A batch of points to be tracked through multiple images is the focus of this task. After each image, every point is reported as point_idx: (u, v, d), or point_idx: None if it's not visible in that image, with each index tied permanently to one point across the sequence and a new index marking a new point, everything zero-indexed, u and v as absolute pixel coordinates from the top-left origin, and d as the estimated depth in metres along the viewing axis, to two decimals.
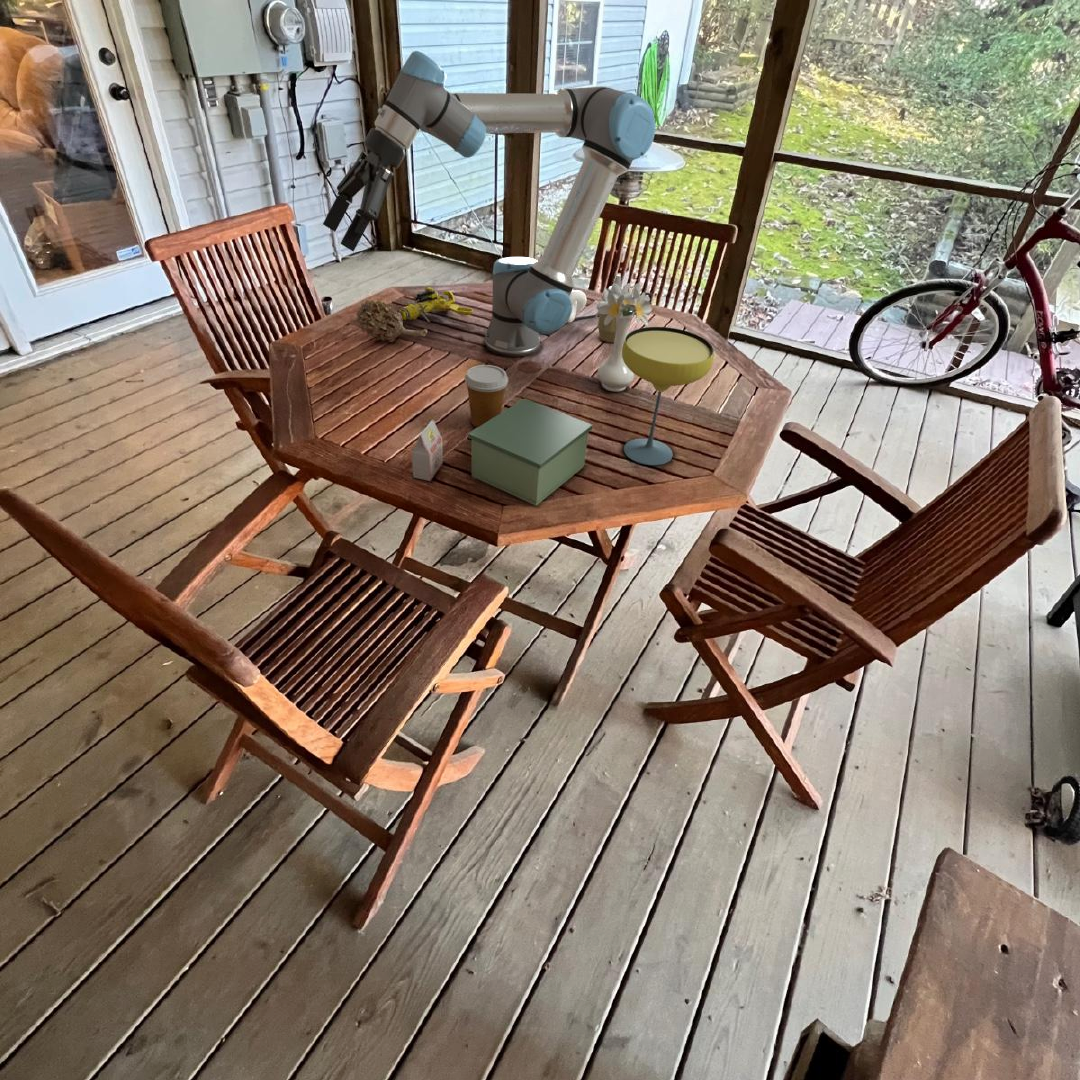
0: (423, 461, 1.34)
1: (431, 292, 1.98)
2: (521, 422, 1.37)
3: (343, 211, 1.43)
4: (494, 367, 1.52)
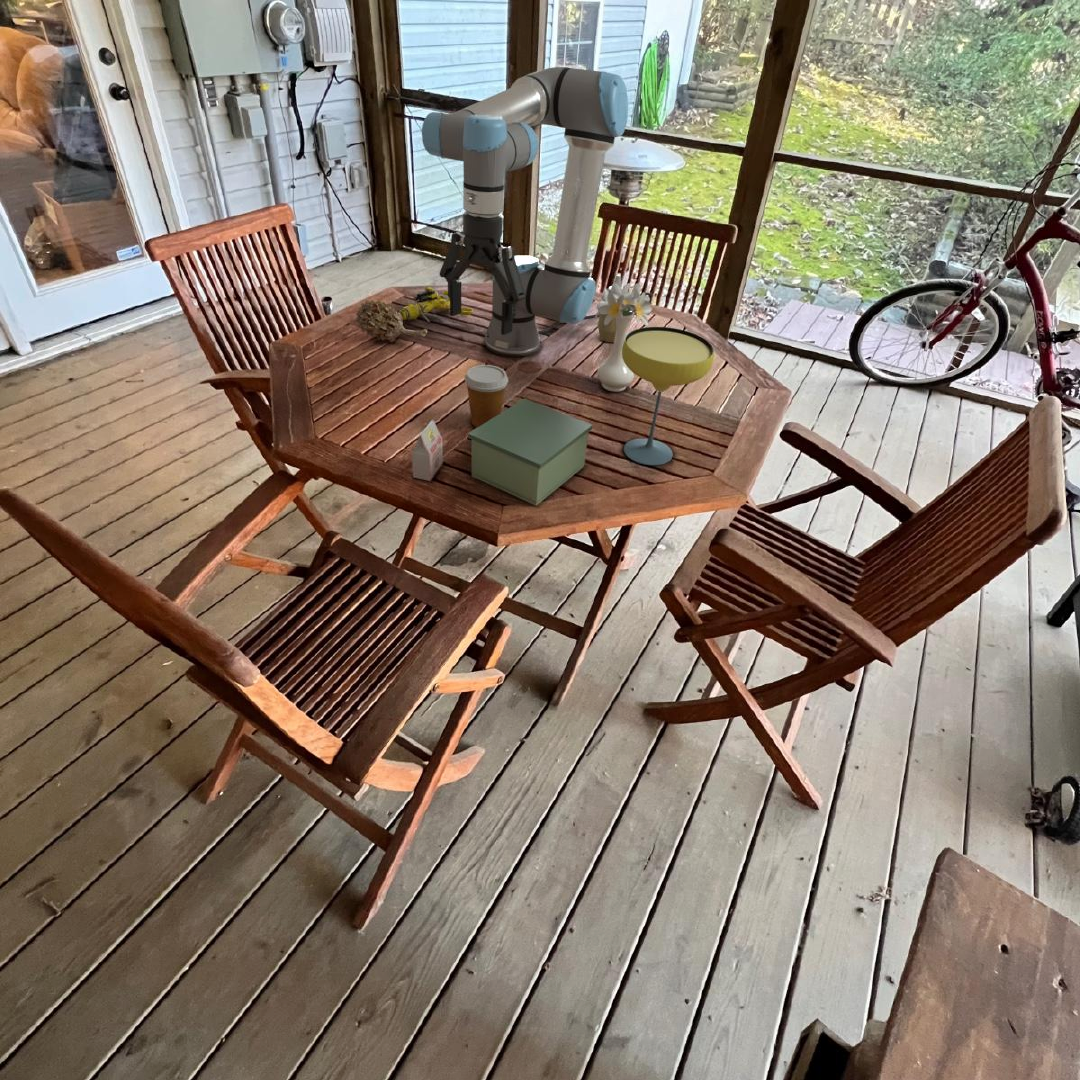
0: (423, 461, 1.34)
1: (431, 292, 1.98)
2: (521, 422, 1.37)
3: (459, 292, 1.42)
4: (494, 367, 1.52)
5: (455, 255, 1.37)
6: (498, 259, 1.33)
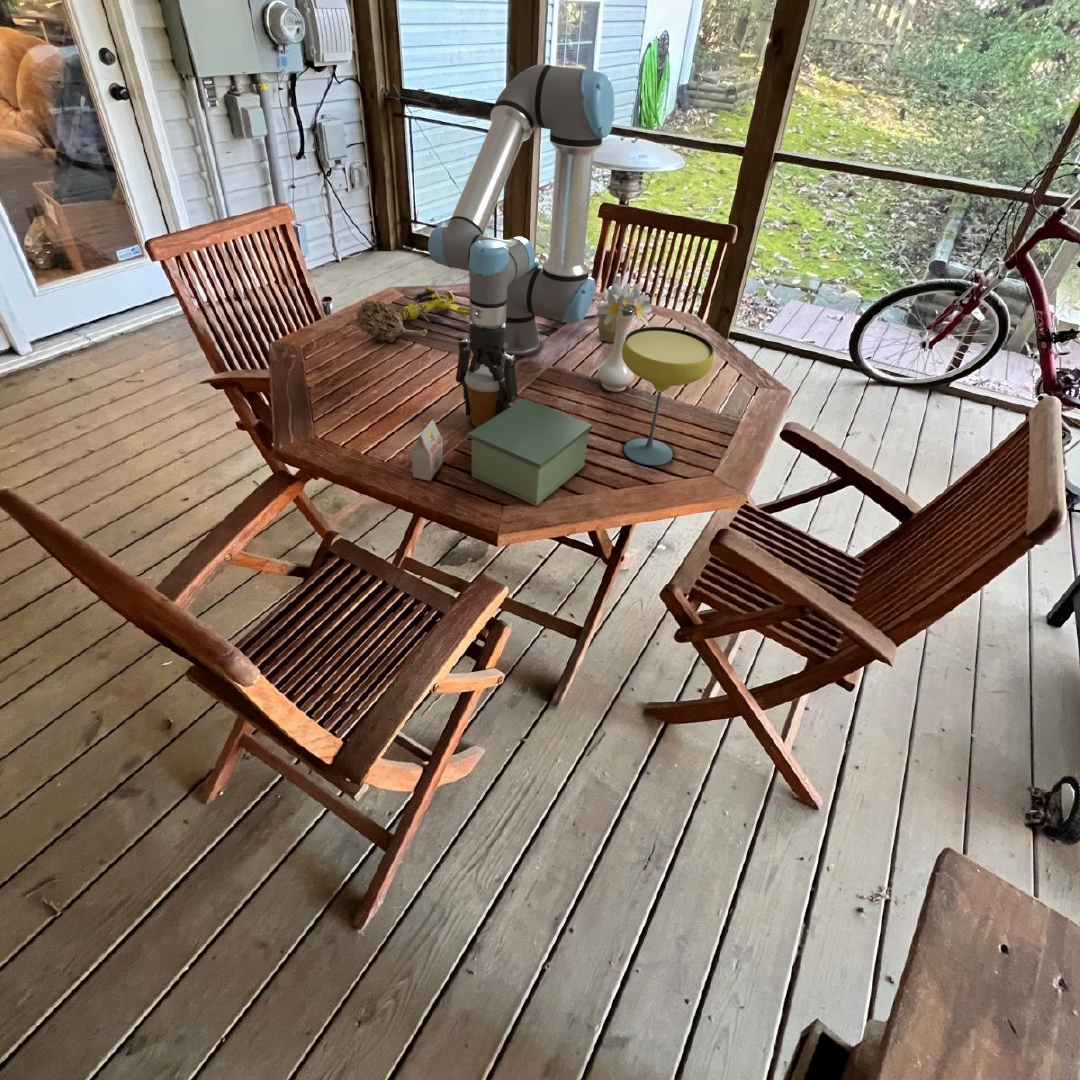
0: (423, 461, 1.34)
1: (431, 292, 1.98)
2: (521, 422, 1.37)
3: None
4: None
5: (466, 360, 1.50)
6: (499, 362, 1.47)
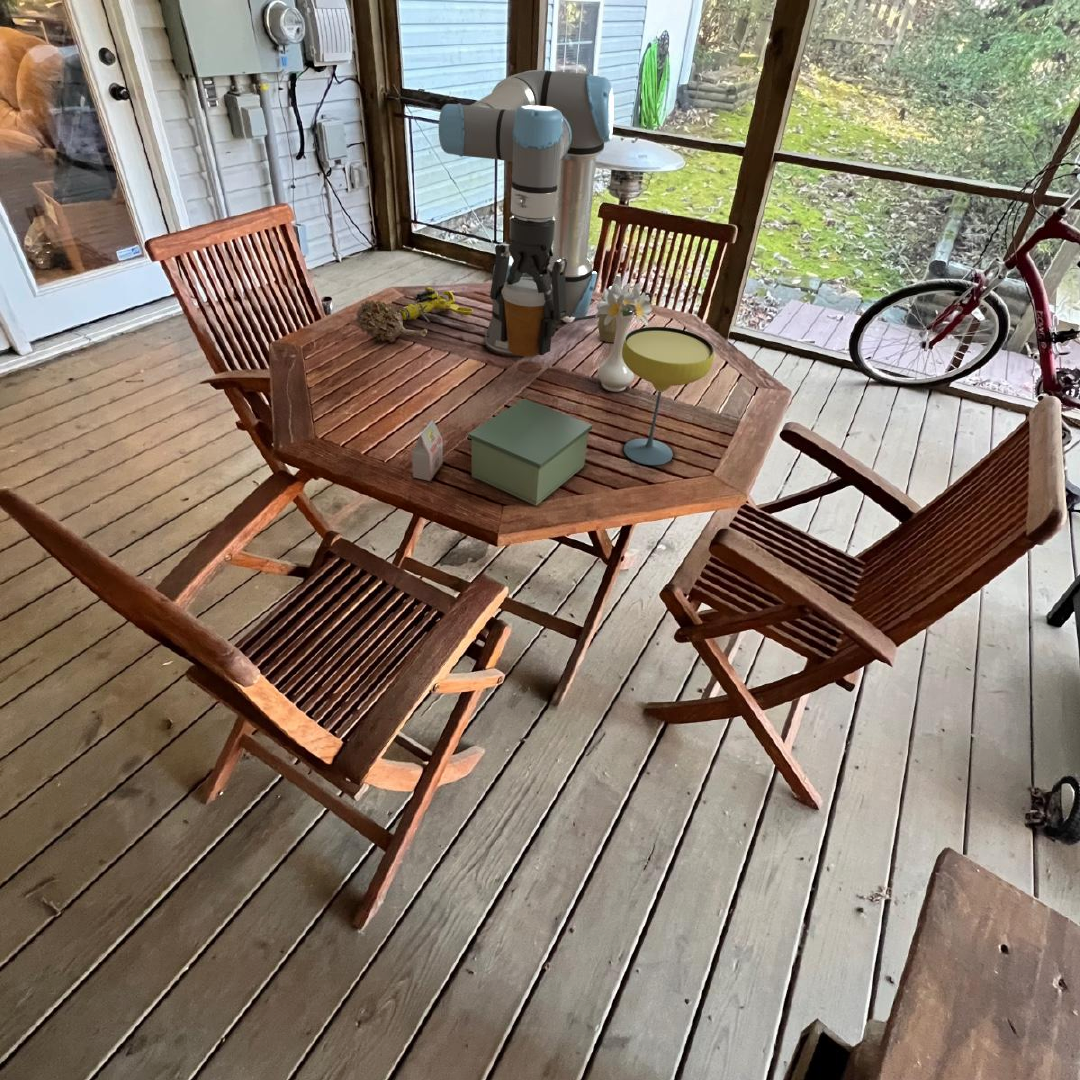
0: (423, 461, 1.34)
1: (431, 292, 1.98)
2: (521, 422, 1.37)
3: None
4: None
5: (503, 270, 1.23)
6: (545, 269, 1.19)
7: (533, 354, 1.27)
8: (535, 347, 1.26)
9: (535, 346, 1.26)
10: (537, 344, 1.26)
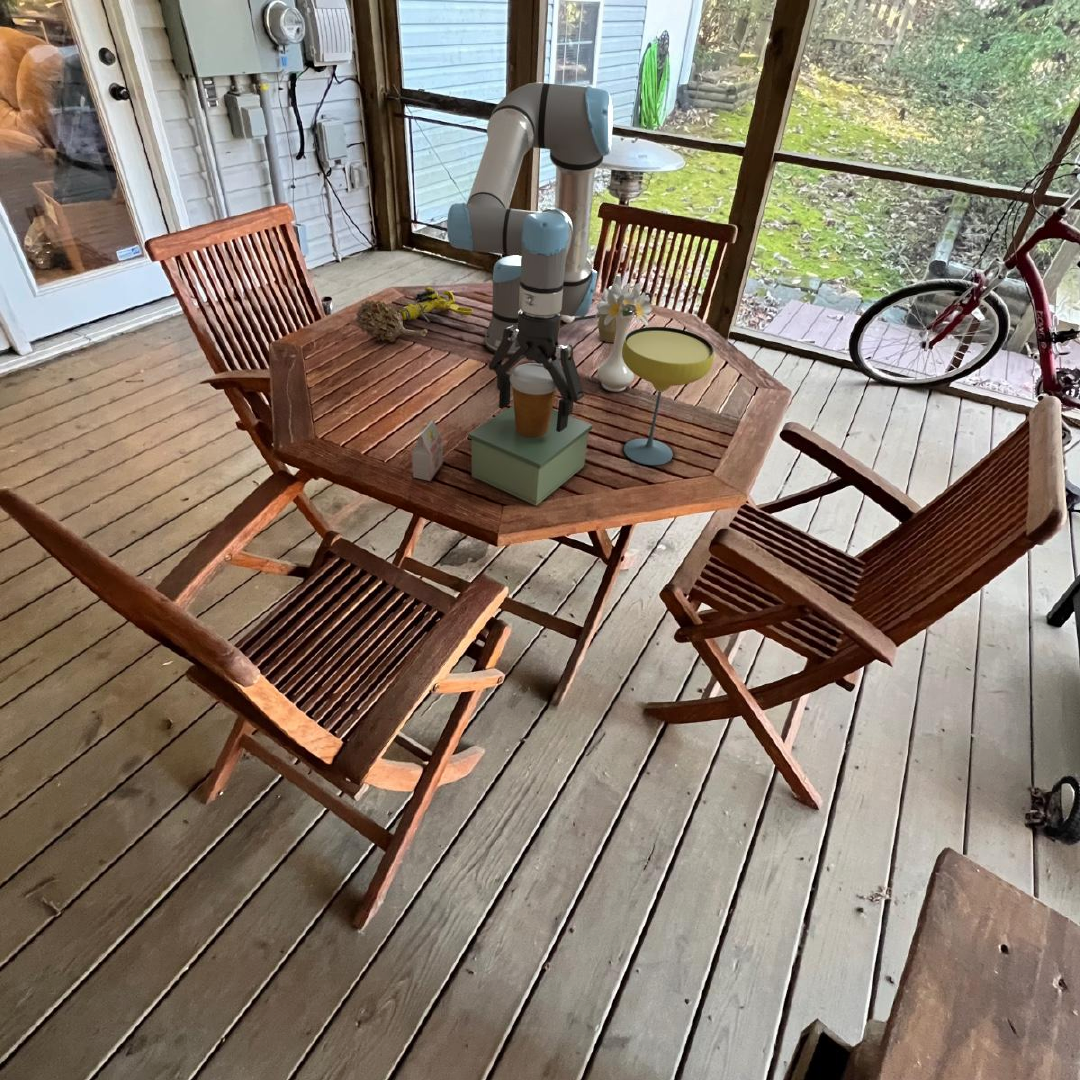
0: (423, 461, 1.34)
1: (431, 292, 1.98)
2: None
3: (509, 384, 1.34)
4: (543, 366, 1.31)
5: (506, 349, 1.29)
6: (554, 356, 1.25)
7: (539, 435, 1.33)
8: (542, 428, 1.33)
9: (541, 428, 1.32)
10: (543, 425, 1.32)
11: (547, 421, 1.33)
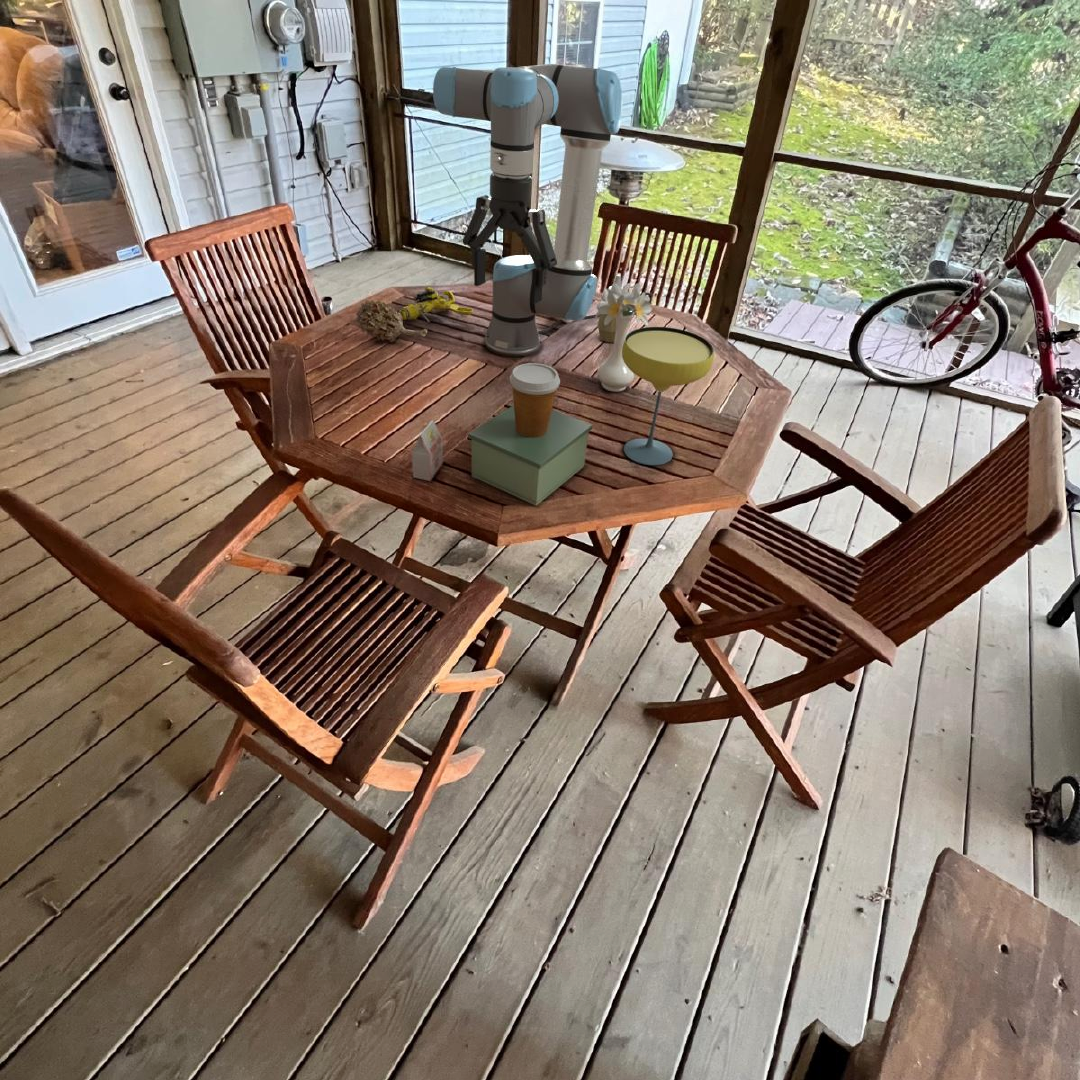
0: (423, 461, 1.34)
1: (431, 292, 1.98)
2: None
3: (484, 260, 1.35)
4: (543, 366, 1.31)
5: (479, 221, 1.30)
6: (527, 223, 1.26)
7: (539, 435, 1.33)
8: (542, 428, 1.33)
9: (541, 428, 1.32)
10: (543, 425, 1.32)
11: (547, 421, 1.33)
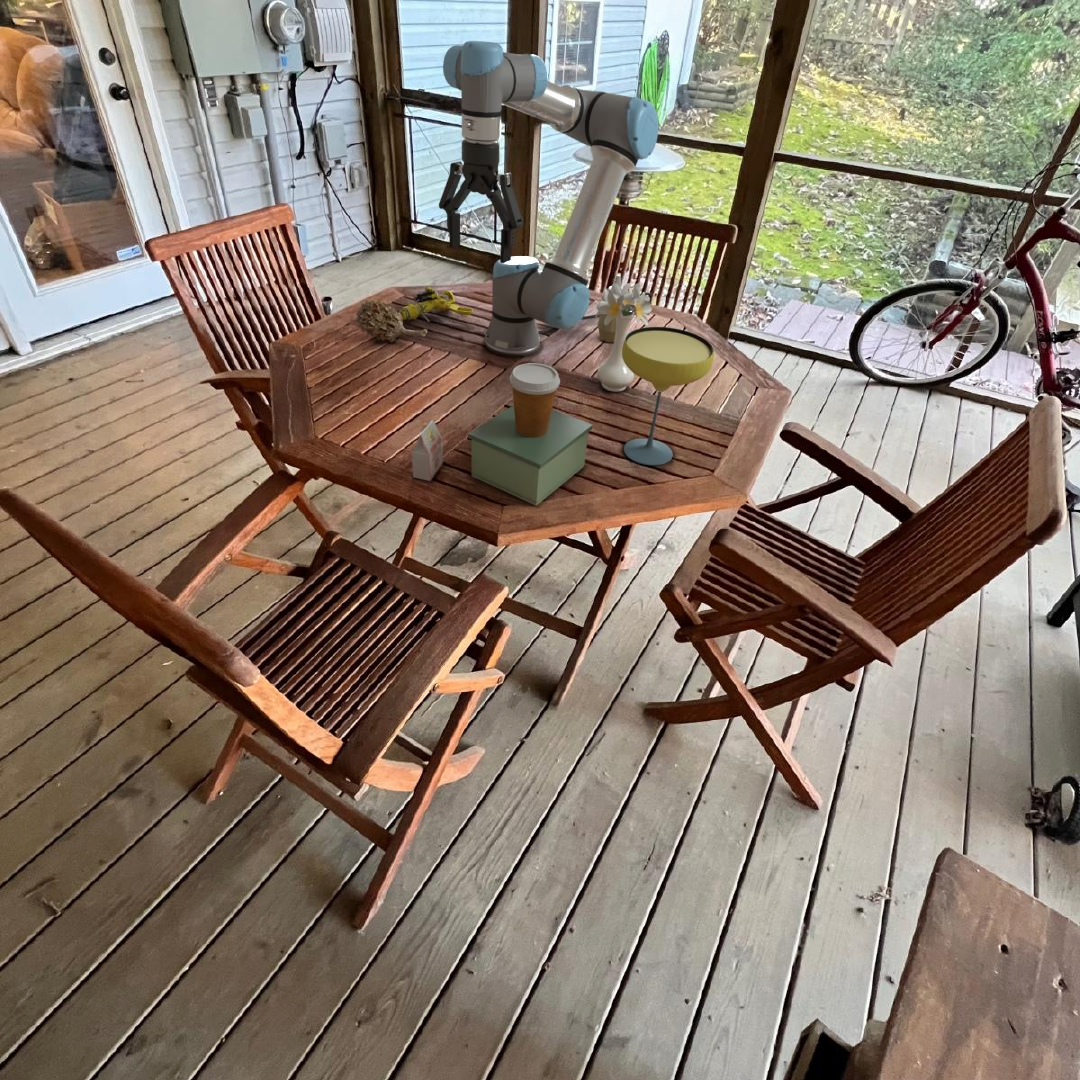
0: (423, 461, 1.34)
1: (431, 292, 1.98)
2: None
3: (458, 224, 1.46)
4: (543, 366, 1.31)
5: (454, 186, 1.41)
6: (496, 187, 1.37)
7: (539, 435, 1.33)
8: (542, 428, 1.33)
9: (541, 428, 1.32)
10: (543, 425, 1.32)
11: (547, 421, 1.33)
